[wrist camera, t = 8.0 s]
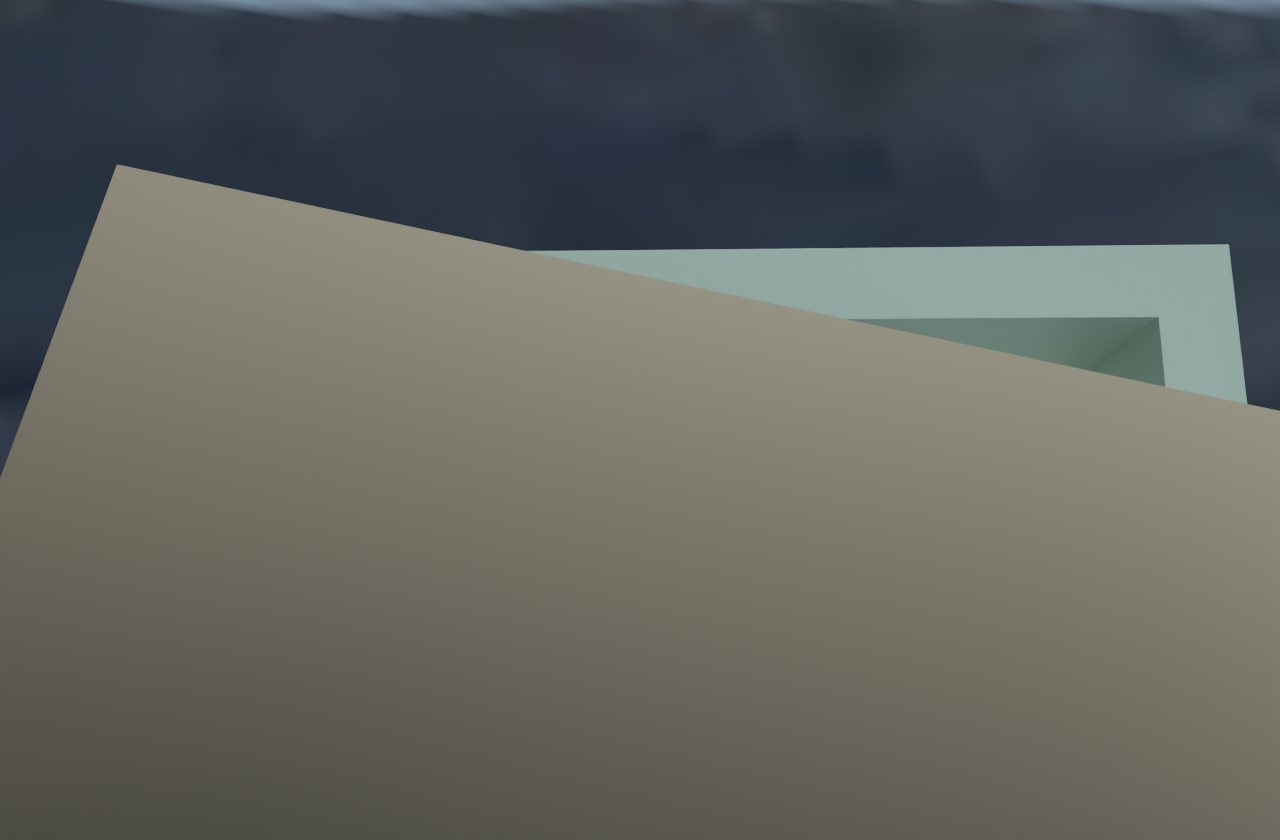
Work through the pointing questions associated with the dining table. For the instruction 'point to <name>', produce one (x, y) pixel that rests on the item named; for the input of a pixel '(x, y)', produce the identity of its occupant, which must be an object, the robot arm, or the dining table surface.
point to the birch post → (604, 560)
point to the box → (1000, 299)
